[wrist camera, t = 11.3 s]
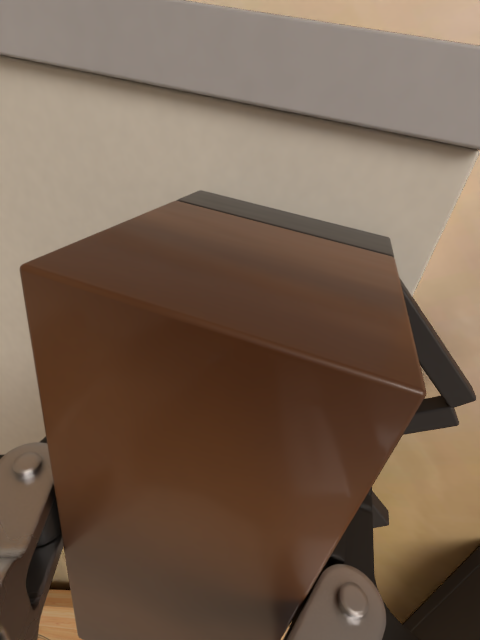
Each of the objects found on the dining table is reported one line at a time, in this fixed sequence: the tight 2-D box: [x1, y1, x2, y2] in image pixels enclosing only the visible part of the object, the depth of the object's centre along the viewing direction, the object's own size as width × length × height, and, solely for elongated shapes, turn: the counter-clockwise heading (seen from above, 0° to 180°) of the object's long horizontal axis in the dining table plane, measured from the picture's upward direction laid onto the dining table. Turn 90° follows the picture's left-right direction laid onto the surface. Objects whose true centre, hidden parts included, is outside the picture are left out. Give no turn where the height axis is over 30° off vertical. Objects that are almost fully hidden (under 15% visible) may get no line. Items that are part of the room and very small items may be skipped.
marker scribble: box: [371, 277, 476, 528], centre depth 11 cm, size 9×4×1 cm, turn 170°
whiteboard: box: [0, 0, 480, 455], centre depth 14 cm, size 23×18×1 cm
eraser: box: [19, 190, 426, 640], centre depth 10 cm, size 12×5×6 cm, turn 170°
